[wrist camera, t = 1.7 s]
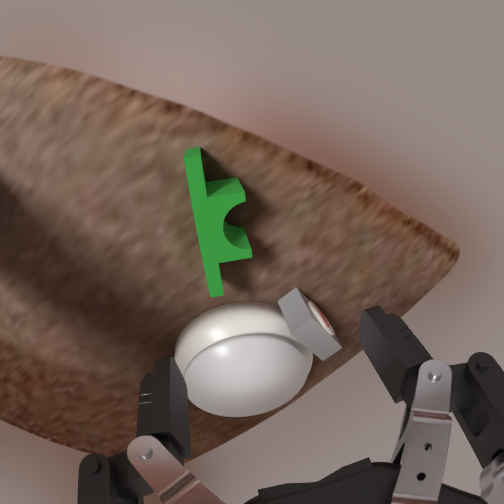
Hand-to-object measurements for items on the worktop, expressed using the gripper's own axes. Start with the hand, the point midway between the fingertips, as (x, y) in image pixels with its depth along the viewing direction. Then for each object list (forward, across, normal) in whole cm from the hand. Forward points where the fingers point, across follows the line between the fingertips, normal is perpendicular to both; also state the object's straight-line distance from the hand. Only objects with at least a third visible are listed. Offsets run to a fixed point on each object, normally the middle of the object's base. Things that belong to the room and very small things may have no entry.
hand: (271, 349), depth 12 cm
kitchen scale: (+16, +1, +16) cm, 23 cm away
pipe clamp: (+16, +1, 0) cm, 17 cm away
